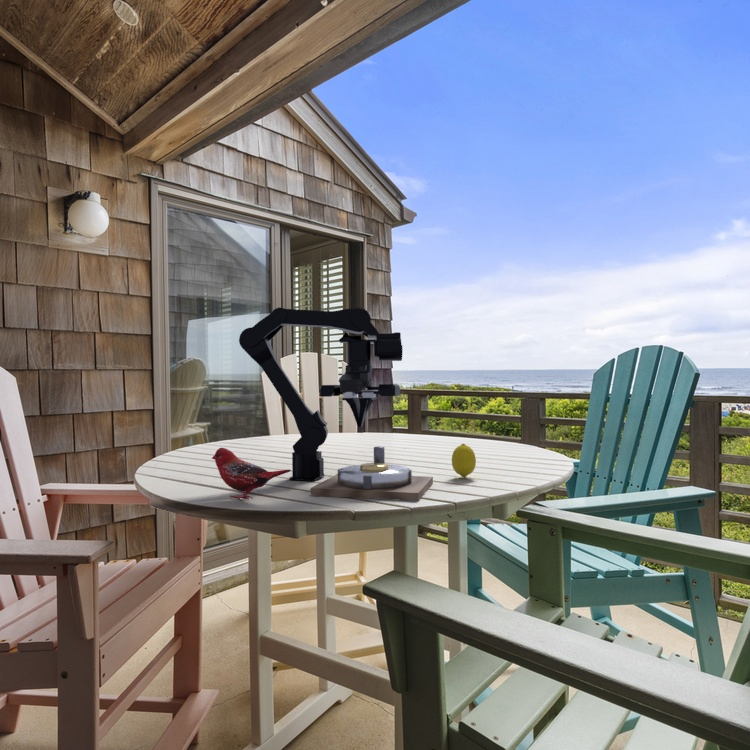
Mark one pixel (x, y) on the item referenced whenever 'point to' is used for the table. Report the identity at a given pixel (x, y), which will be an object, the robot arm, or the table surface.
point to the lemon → (463, 460)
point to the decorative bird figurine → (242, 473)
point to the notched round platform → (375, 474)
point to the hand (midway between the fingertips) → (360, 426)
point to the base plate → (374, 490)
